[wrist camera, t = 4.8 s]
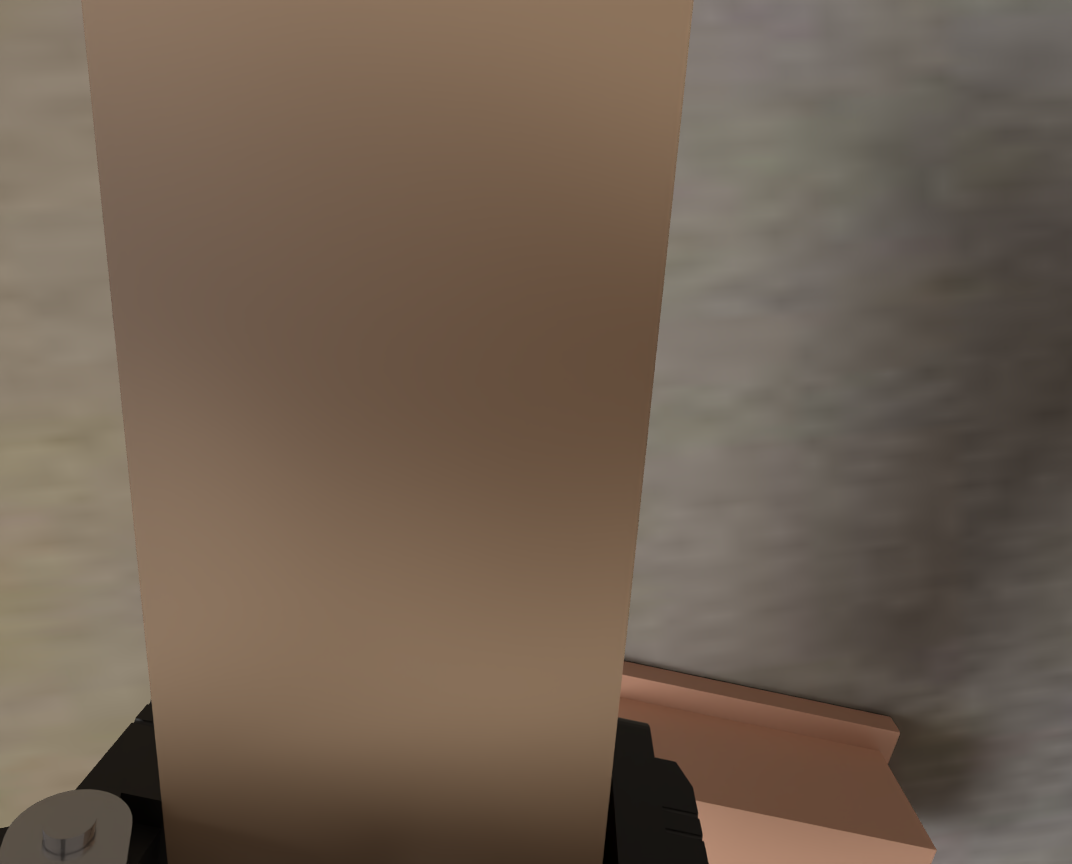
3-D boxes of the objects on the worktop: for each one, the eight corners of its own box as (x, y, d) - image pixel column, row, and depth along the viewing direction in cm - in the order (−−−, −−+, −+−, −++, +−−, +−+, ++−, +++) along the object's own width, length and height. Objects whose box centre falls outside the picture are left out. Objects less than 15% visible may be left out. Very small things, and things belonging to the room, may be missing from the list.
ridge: (578, 651, 31) (580, 750, 26) (890, 716, 32) (961, 829, 26) (547, 773, 33) (542, 891, 27) (843, 834, 33) (901, 964, 28)
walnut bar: (287, -17, 11) (62, -184, 6) (647, 3, 11) (709, -151, 6) (322, 1099, 17) (225, 1445, 12) (546, 1119, 17) (537, 1477, 12)
